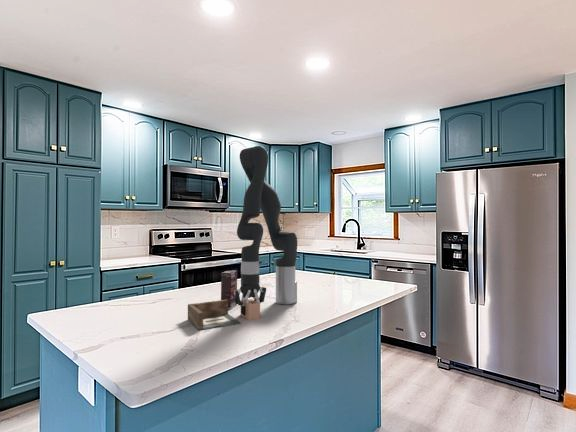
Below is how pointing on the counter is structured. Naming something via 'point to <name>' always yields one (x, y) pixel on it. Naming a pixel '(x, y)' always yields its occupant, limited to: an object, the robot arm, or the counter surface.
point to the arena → (210, 315)
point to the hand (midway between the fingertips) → (250, 313)
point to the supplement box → (229, 287)
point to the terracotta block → (252, 309)
